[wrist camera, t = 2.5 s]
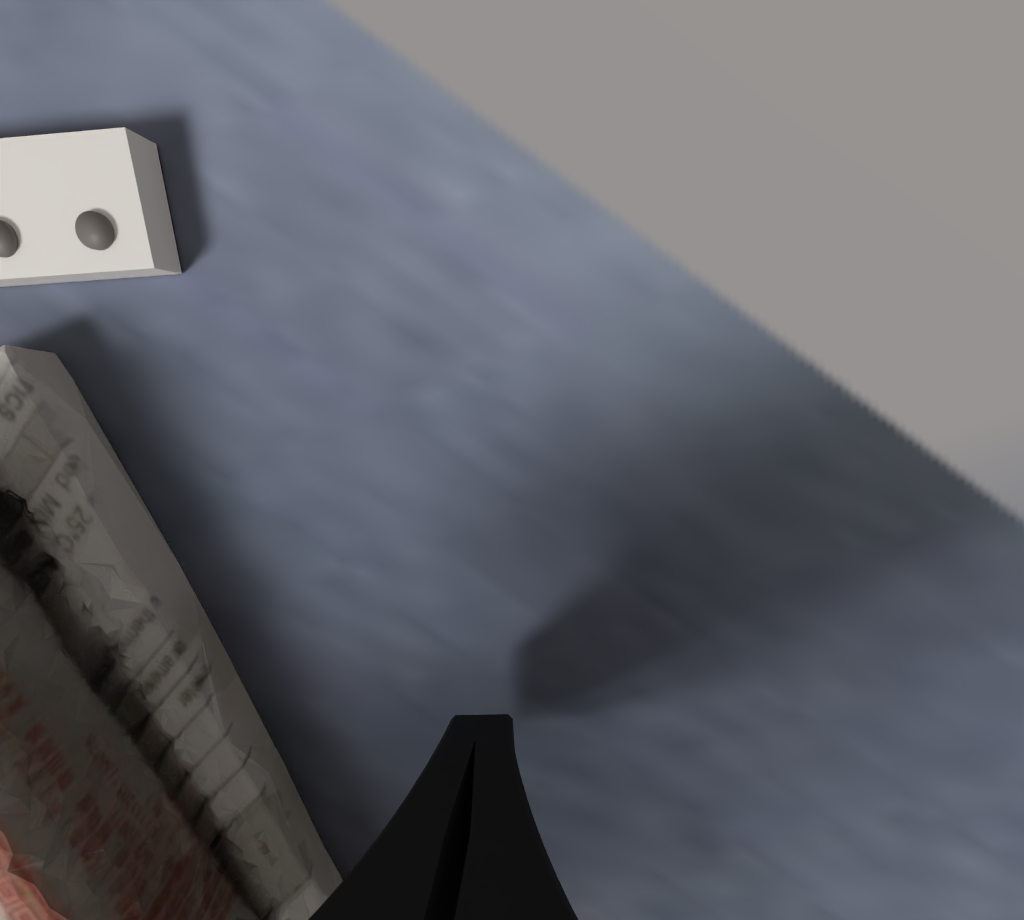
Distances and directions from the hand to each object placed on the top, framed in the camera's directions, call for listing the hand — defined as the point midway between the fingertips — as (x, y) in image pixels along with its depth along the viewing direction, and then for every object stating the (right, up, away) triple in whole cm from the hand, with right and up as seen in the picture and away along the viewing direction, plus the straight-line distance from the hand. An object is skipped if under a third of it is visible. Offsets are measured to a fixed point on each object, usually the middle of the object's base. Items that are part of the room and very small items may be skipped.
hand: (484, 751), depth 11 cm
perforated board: (-15, +12, -1) cm, 19 cm away
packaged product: (-11, 0, +3) cm, 11 cm away
